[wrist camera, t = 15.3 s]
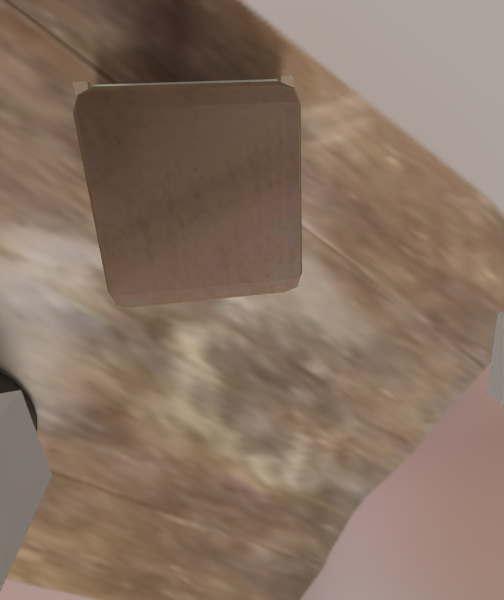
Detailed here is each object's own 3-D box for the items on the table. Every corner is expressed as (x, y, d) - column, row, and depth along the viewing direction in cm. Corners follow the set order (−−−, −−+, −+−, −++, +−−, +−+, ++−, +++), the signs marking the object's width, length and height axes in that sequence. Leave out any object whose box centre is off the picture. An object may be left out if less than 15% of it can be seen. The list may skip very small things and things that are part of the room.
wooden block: (133, 130, 33) (60, 82, 15) (244, 125, 35) (306, 75, 16) (150, 241, 37) (107, 316, 18) (250, 233, 38) (307, 296, 19)
